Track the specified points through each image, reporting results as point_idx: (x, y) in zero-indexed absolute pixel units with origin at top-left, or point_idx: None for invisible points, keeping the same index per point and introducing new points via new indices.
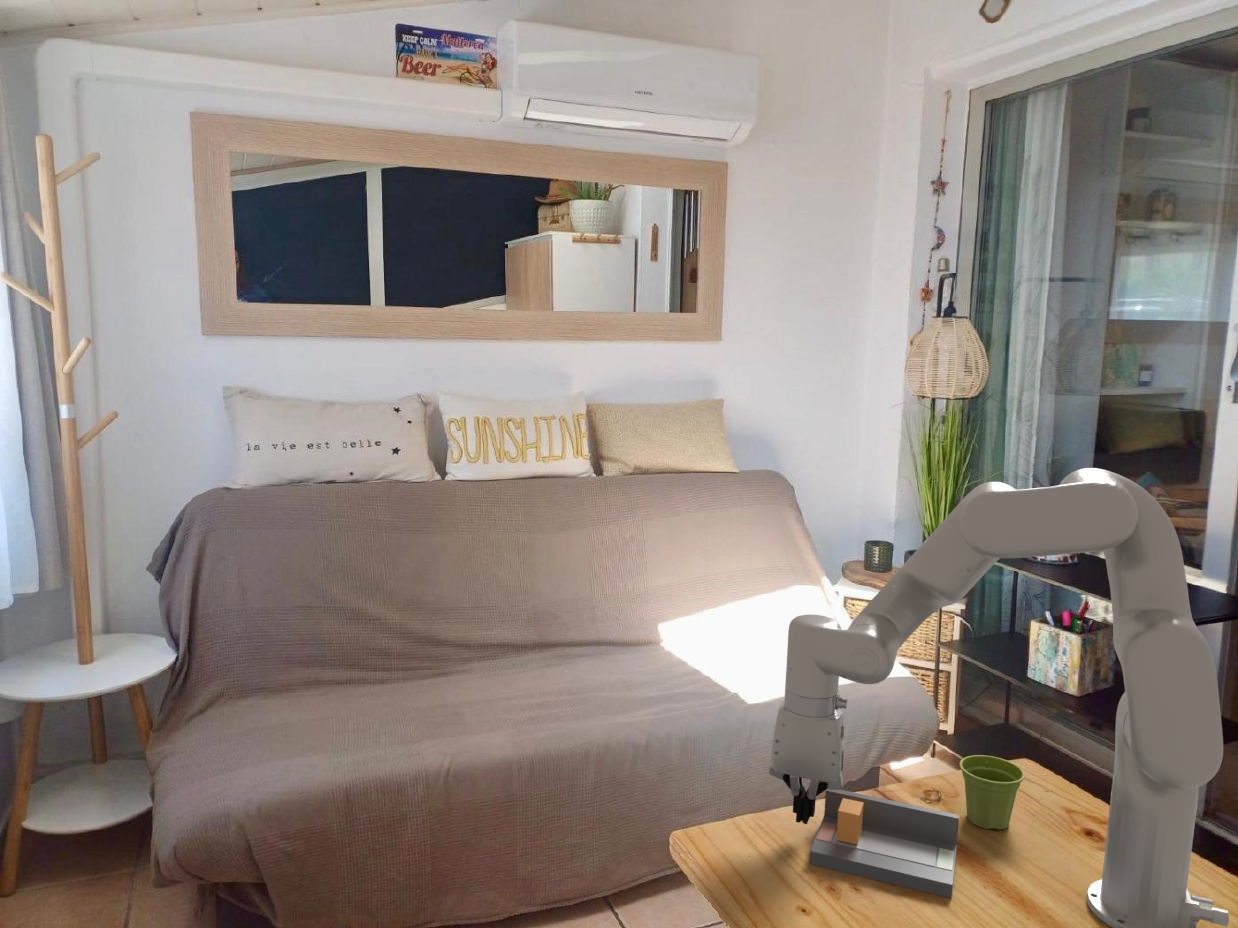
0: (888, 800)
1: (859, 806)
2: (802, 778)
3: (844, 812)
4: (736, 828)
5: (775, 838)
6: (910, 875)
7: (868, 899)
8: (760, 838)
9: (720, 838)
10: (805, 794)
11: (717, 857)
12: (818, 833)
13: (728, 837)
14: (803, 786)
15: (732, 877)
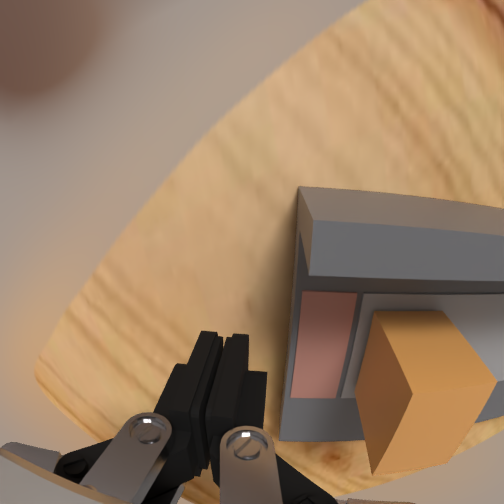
0: None
1: (468, 417)
2: (153, 463)
3: (395, 471)
4: (67, 318)
5: (164, 338)
6: (494, 417)
7: None
8: (131, 348)
9: (65, 365)
10: (209, 447)
11: (98, 422)
12: (292, 366)
13: (74, 359)
14: (180, 449)
15: None
